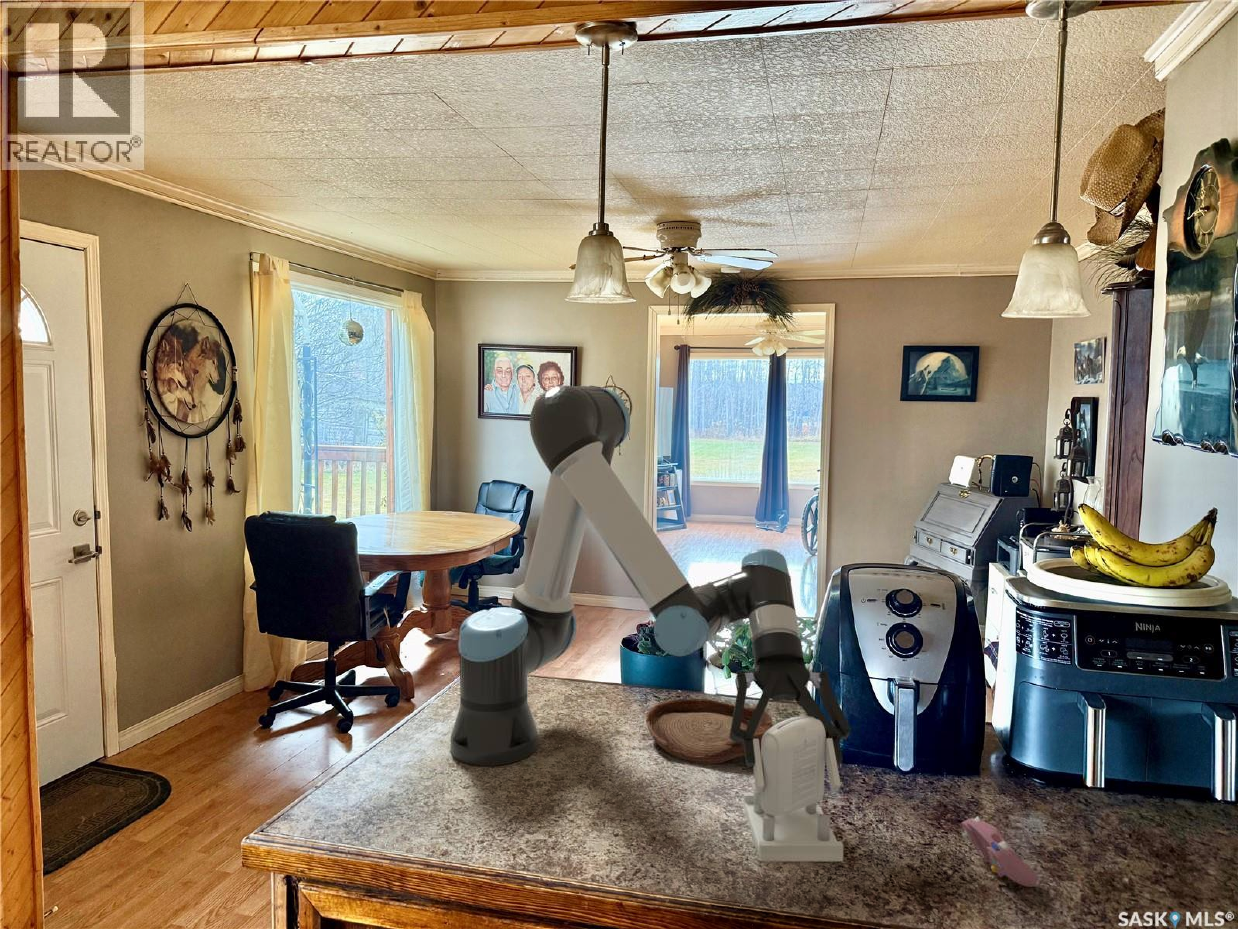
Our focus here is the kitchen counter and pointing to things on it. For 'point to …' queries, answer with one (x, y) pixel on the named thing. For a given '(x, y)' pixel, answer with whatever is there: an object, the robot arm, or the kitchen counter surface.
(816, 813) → the white pegged stand
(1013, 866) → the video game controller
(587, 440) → the robot arm
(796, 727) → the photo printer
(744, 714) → the basket
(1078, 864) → the kitchen counter surface
